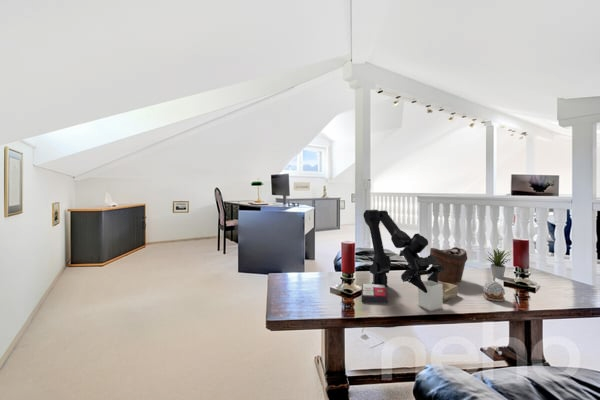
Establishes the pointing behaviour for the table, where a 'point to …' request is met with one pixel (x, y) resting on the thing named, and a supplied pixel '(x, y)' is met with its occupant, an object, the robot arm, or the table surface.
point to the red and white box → (374, 293)
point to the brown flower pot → (450, 264)
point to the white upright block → (431, 296)
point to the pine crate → (448, 291)
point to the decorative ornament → (494, 289)
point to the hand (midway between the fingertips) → (432, 291)
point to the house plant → (498, 263)
